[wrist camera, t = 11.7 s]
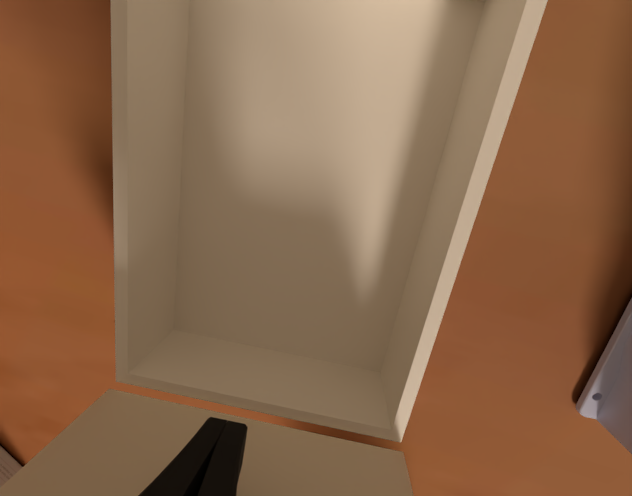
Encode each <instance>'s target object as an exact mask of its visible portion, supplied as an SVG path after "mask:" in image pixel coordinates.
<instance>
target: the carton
mask: <svg viewBox="0 0 632 496" xmlns="http://www.w3.org/2000/svg"><path fill="white" fill-rule="evenodd" d="M547 1H548V0H111V69H112V139H113V210H114V280H115V351H116V381H117V382H121V383H126V384H131V385H135V386H140V387H145V388H149V389H154V390H159V391H163V392H168V393H173V394H177V395H182V396H187V397H191V398H196V399H201V400H205V401H210V402H215V403H219V404H224V405H228V406H233V407H238V408H242V409H247V410H252V411H256V412H261V413H266V414H270V415H275V416H280V417H284V418H289V419H294V420H298V421H303V422H308V423H312V424H317V425H322V426H326V427H331V428H336V429H340V430H345V431H349V432H354V433H359V434H363V435H368V436H373V437H377V438H382V439H387V440H391V441H396V442H401V441H402V438H403V435H404V432H405V429H406V426H407V423H408V420H409V417H410V414H411V411H412V408H413V405H414V402H415V399H416V396H417V393H418V390H419V387H420V384H421V381H422V378H423V375H424V372H425V369H426V366H427V363H428V360H429V356H430V353H431V350H432V347H433V344H434V341H435V338H436V335H437V332H438V329H439V326H440V323H441V320H442V317H443V314H444V311H445V308H446V305H447V302H448V299H449V296H450V293H451V290H452V287H453V284H454V281H455V278H456V275H457V272H458V269H459V266H460V263H461V260H462V257H463V254H464V251H465V248H466V245H467V242H468V239H469V236H470V233H471V230H472V227H473V224H474V221H475V218H476V215H477V212H478V209H479V206H480V203H481V200H482V197H483V194H484V191H485V188H486V185H487V182H488V179H489V176H490V173H491V169H492V166H493V163H494V160H495V157H496V154H497V151H498V148H499V145H500V142H501V139H502V136H503V133H504V130H505V127H506V124H507V121H508V118H509V115H510V112H511V109H512V106H513V103H514V100H515V97H516V94H517V91H518V88H519V85H520V82H521V79H522V76H523V73H524V70H525V67H526V64H527V61H528V58H529V55H530V52H531V49H532V46H533V43H534V40H535V37H536V34H537V31H538V28H539V25H540V22H541V19H542V16H543V13H544V10H545V7H546V4H547Z"/></svg>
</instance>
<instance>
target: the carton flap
mask: <svg viewBox="0 0 632 496" xmlns="http://www.w3.org/2000/svg"><path fill="white" fill-rule="evenodd" d="M210 417H214V418H219V419H224V420H229V421H234V422H239V423H243V424H246V426H247V427H248V429H247V436H246V442H245V449H244V456H243V462H242V467H241V471H240V475H239V479H238V484H237V493H236V496H413V491H412V487H411V483H410V479H409V474H408V470H407V466H406V462H405V457H404V453H403V452H400V451H395V450H391V449H386V448H382V447H377V446H372V445H368V444H363V443H358V442H354V441H349V440H345V439H340V438H335V437H331V436H326V435H321V434H317V433H312V432H308V431H303V430H298V429H294V428H289V427H284V426H280V425H275V424H270V423H266V422H261V421H257V420H252V419H247V418H243V417H238V416H233V415H229V414H224V413H220V412H215V411H210V410H206V409H201V408H196V407H192V406H187V405H183V404H178V403H173V402H169V401H164V400H159V399H155V398H150V397H145V396H141V395H136V394H132V393H127V392H122V391H118V390H113V389H108V390H107V391H106V392H105V393H104V394H103V395H102V396H101V397H100V398H99V399H97V400H96V401H95V402H94V403H93V404H92V405H91V406H90V407H89V408H87V409H86V410H85V411H84V412H83V413H82V414H81V415H80V416H79V417H78V418H76V419H75V420H74V421H73V422H72V423H71V424H70V425H69V426H68V427H67V428H65V429H64V430H63V431H62V432H61V433H60V434H59V435H58V436H57V437H56V438H54V439H53V440H52V441H51V442H50V443H49V444H48V445H47V446H46V447H44V448H43V449H42V450H41V451H40V452H39V453H38V454H37V455H36V456H35V457H33V458H32V459H31V460H30V461H29V462H28V463H27V464H26V465H25V466H24V467H22V468H21V469H20V470H19V471H18V472H17V473H16V474H15V475H14V476H12V477H11V478H10V479H9V480H8V481H7V482H6V483H5V484H4V485H3V486H1V487H0V496H138V495H139V494H140V493H141V492H142V491H143V490H144V489H145V488H146V487H147V486H148V485H149V484H150V483H151V482H152V481H153V480H154V479H155V478H156V477H157V476H158V475H159V474H160V473H161V472H162V471H163V470H164V469H165V468H166V467H167V466H168V464H169V463H170V462H171V461H172V460H173V459H174V458H175V457H176V456H177V455H178V454H179V453H180V451H181V450H182V449H183V448H184V447H185V446H186V445H187V443H188V442H189V441H190V440H191V439H192V438H193V436H194V435H195V434H196V433H197V432H198V430H199V429H200V428H201V427H202V425H203V424H204V423H205V421H206V420H207V419H208V418H210ZM227 422H228V421H227Z"/></svg>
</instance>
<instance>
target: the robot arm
mask: <svg viewBox="0 0 632 496" xmlns="http://www.w3.org/2000/svg"><path fill="white" fill-rule="evenodd" d="M576 410H577V411H578V412H579V413H580V414H581V415H582V416H584V417H588V418H593V419H597V420H598V421H599V422H600V423H601V424H602V425H603V426H604V427H605V428H606V429H607V430H608V431H609V432H610V433H611V434H612V435H613V436H614V437H615V438H616V439H617V440H618V441H619V442H620V443H621V444H622V445H623V446H624V447H625V448H626V449H627V450H628V451H629V452H630V453H631V454H632V298H631V300H630V302H629V304H628V306H627V308H626V310H625V312H624V313H623V315H622V317H621V319H620V321H619V323H618V325H617V327H616V329H615V331H614V333H613V335H612V337H611V338H610V340H609V342H608V344H607V346H606V348H605V350H604V352H603V354H602V356H601V358H600V360H599V362H598V363H597V365H596V367H595V369H594V371H593V373H592V375H591V377H590V379H589V381H588V383H587V385H586V386H585V388H584V390H583V392H582V394H581V396H580V398H579V400H578V402H577V404H576ZM227 421H228V422H227ZM247 429H248V427H247V426H246V424H243V423H239V422H234V421H229V420H224V419H219V418H214V417H210V418H208V419H207V420H206V421H205V423H204V424H203V425H202V427H201V428H200V429H199V430H198V432H197V433H196V434H195V435H194V436H193V438H192V439H191V440H190V441H189V442H188V443H187V445H186V446H185V447H184V448H183V449H182V450H181V451H180V453H179V454H178V455H177V456H176V457H175V458H174V459H173V460H172V461H171V462H170V463H169V464H168V466H167V467H166V468H165V469H164V470H163V471H162V472H161V473H160V474H159V475H158V476H157V477H156V478H155V479H154V480H153V481H152V482H151V483H150V484H149V485H148V486H147V487H146V488H145V489H144V490H143V491H142V492H141V493H140V494H139V495H138V496H236V493H237V484H238V479H239V475H240V471H241V467H242V462H243V456H244V449H245V442H246V436H247Z"/></svg>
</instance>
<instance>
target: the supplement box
mask: <svg viewBox="0 0 632 496" xmlns="http://www.w3.org/2000/svg"><path fill="white" fill-rule="evenodd" d="M21 468H22V466H21V465H20V464H19V463H18V462H17V461H16V460H15V459H14V458H13V457H12V456H11V455H10V454H9V453H8V452H6V451H5V450H4V449H3V448H2V447H1V446H0V487H1V486H3V485H4V484H5V483H6V482H7V481H8V480H9V479H10V478H11V477H12V476H14V475H15V474H16V473H17V472H18V471H19V470H20V469H21Z"/></svg>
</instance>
